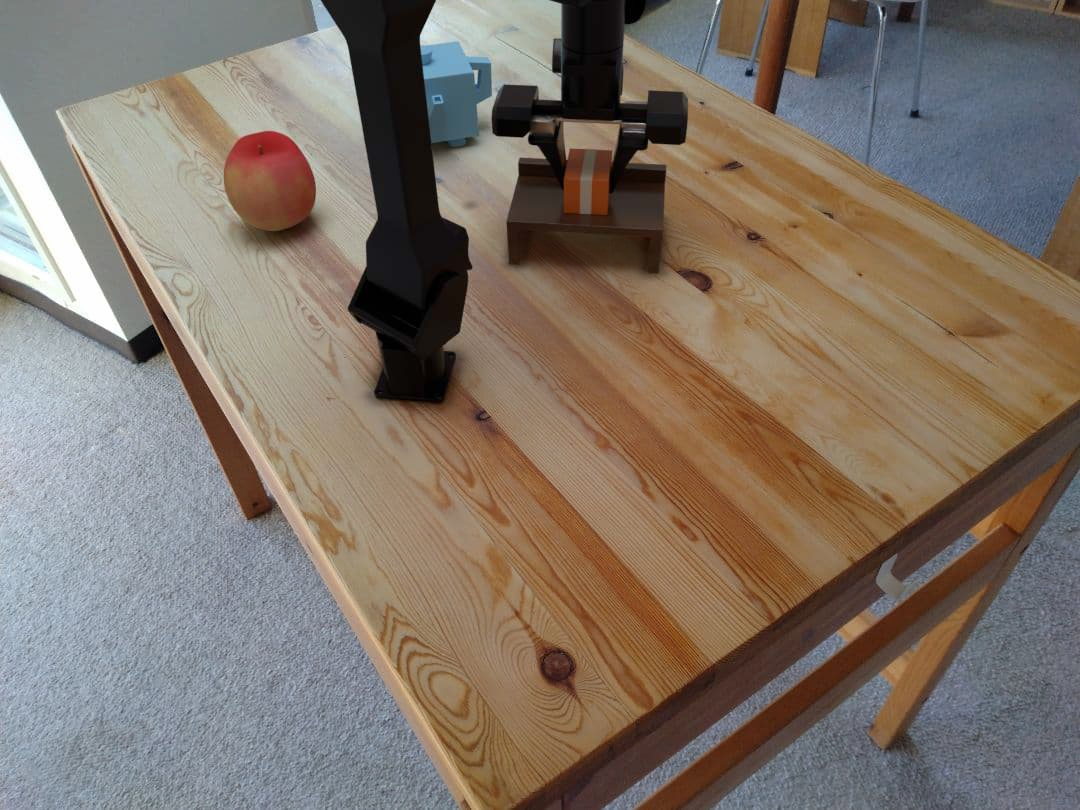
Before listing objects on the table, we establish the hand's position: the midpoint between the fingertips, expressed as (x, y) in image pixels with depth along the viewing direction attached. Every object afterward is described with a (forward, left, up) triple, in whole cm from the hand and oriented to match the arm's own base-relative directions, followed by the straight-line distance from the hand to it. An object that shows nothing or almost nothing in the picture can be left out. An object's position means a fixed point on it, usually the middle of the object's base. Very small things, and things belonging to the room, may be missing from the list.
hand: (588, 190), depth 89 cm
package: (0, 0, -1) cm, 1 cm away
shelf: (0, 0, -6) cm, 7 cm away
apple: (0, +35, -7) cm, 36 cm away
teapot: (+22, +22, -7) cm, 32 cm away
